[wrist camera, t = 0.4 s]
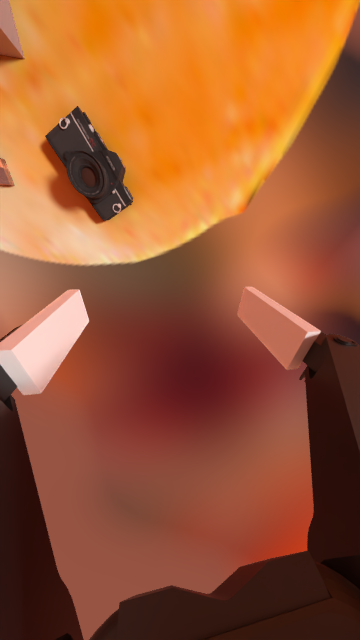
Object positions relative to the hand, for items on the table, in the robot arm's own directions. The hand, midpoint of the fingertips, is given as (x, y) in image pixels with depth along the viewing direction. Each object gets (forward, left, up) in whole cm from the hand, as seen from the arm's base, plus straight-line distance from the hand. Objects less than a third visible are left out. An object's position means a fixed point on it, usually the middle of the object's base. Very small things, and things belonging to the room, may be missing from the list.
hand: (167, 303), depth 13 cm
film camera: (-13, -10, -27) cm, 32 cm away
